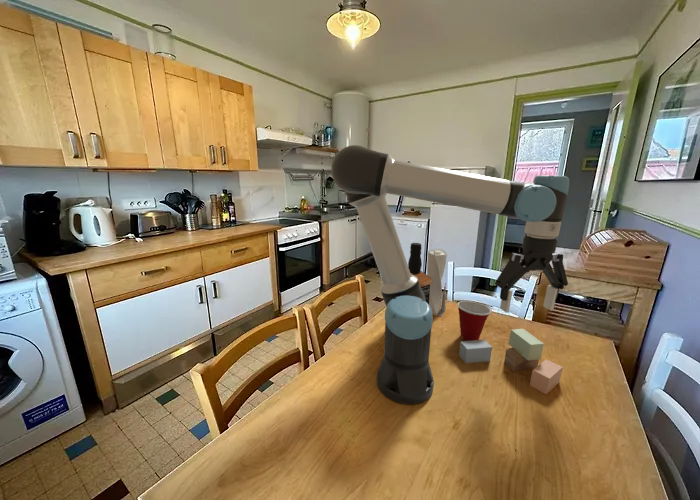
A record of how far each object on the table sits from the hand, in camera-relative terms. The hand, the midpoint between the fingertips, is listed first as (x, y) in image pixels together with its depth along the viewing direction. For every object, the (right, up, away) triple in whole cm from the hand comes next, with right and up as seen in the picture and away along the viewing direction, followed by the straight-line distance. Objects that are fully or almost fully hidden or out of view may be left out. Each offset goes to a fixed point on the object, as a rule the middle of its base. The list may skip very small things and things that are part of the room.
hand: (526, 309), depth 80 cm
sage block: (+1, -13, +3) cm, 14 cm away
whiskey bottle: (-27, -12, +27) cm, 40 cm away
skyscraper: (-15, -9, +38) cm, 42 cm away
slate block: (-11, -17, +8) cm, 22 cm away
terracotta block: (+3, -20, -3) cm, 20 cm away
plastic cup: (-8, -14, +19) cm, 25 cm away
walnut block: (+1, -18, +5) cm, 19 cm away
